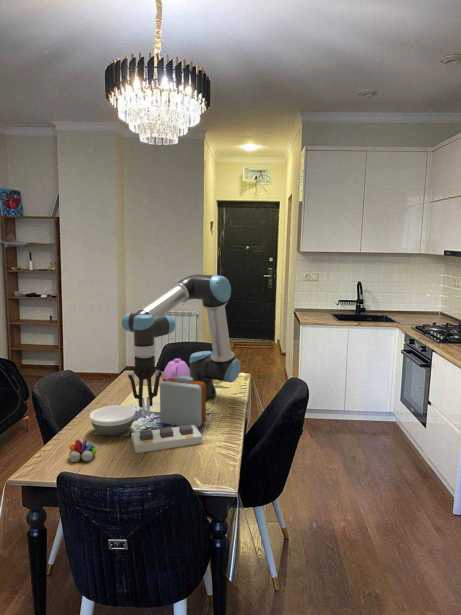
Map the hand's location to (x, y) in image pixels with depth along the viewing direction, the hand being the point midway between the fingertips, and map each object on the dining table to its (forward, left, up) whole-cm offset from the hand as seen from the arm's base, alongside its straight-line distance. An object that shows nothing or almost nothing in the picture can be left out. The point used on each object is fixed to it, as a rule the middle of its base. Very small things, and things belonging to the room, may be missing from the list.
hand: (145, 414), depth 182 cm
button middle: (-8, 0, -11) cm, 13 cm away
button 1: (0, 0, -11) cm, 11 cm away
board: (-8, 0, -12) cm, 15 cm away
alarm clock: (-19, -17, -13) cm, 29 cm away
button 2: (-16, 0, -11) cm, 19 cm away
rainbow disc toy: (+24, +3, -13) cm, 27 cm away
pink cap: (-31, -80, -13) cm, 87 cm away
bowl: (+11, -17, -13) cm, 24 cm away
